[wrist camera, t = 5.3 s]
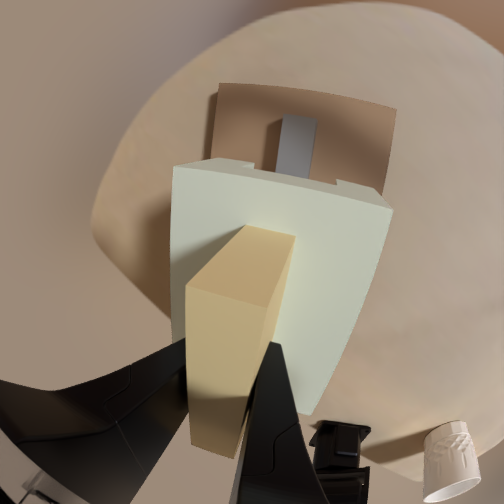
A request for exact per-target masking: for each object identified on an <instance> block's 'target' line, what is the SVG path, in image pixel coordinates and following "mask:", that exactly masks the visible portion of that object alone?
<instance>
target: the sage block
mask: <svg viewBox="0 0 504 504" xmlns="http://www.w3.org/2000/svg"><path fill="white" fill-rule="evenodd" d="M254 164H255V163H252V162H246V161H239V160H233V159H225V158H214V159H208V160H203V161H197V162H192V163H187V164H182V165H177V166H174V168H173V183H172V201H171V228H170V298H171V324H172V343H175V342H177V341H179V340H181V339H183V338H185V337H186V370H187V392H188V408H189V422H190V435H191V444H192V445H194V446H196V447H199V448H202V449H204V450H207V451H210V452H213V453H216V454H219V455H222V456H225V457H228V458H231V459H234V456H235V454H236V452H237V449H238V446H239V444H240V441H241V438H242V436H243V434H244V431H245V427H246V422H247V417H248V412H249V407H250V403H251V399H252V395H253V391H254V387H255V382H256V378H257V374H258V370H259V368H260V365H261V363H262V360H263V357H264V355H265V352H266V350H267V347H268V345H269V342H270V341H272V342H276V343H280V344H281V346H282V350H283V354H284V358H285V362H286V367H287V371H288V375H289V379H290V384H291V388H292V392H293V397H294V401H295V405H296V410H297V413H301V414H305V415H310V416H311V414H312V412H313V410H314V409H315V407H316V405H317V403H318V401H319V399H320V398H321V396H322V394H323V392H324V390H325V388H326V386H327V384H328V382H329V380H330V378H331V376H332V374H333V372H334V370H335V368H336V366H337V364H338V361H339V359H340V357H341V355H342V353H343V351H344V348H345V346H346V344H347V342H348V339H349V337H350V335H351V332H352V330H353V328H354V325H355V323H356V321H357V318H358V316H359V313H360V311H361V308H362V306H363V303H364V300H365V298H366V295H367V292H368V290H369V287H370V284H371V281H372V279H373V276H374V273H375V270H376V267H377V264H378V261H379V258H380V255H381V252H382V248H383V245H384V242H385V239H386V235H387V232H388V228H389V225H390V221H391V218H392V214H393V209H392V207H391V206H390V205H389V204H388V203H387V202H386V201H385V200H384V199H383V197H382V196H381V195H380V194H379V193H378V192H377V191H376V190H375V189H374V188H371V187H367V186H363V185H359V184H355V183H351V182H347V181H343V180H339V179H336V182H335V185H332V184H328V183H324V182H319V181H315V180H310V179H305V178H300V177H295V176H290V175H285V174H280V173H274V172H269V171H263V170H257V169H254Z"/></svg>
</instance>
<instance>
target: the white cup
mask: <svg viewBox="0 0 504 504" xmlns="http://www.w3.org/2000/svg"><path fill="white" fill-rule="evenodd" d="M480 481H481V475H480V471H479V465H478V461H477V456H476V453H475V449H474V445H473V443H472V438H471V437H470V434H469V431H468V427H467V425H466V423H465V422H463V421H453V422H449V423H446V424H444V425H441V426H439V427H438V428H436V429H434V430H433V431H431V432H430V433H429V434H428V435H427V436H426V437H425V440H424V488H423V502H426V503H432V502H438V501H443V500H446V499H450V498H452V497H455V496H458V495H459V494H462V493H464V492H466V491H468V490H469V489H471V488H473V487H474V486H475V485H477V484H478V483H479V482H480Z"/></svg>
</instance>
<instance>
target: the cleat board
mask: <svg viewBox="0 0 504 504" xmlns="http://www.w3.org/2000/svg"><path fill="white" fill-rule="evenodd" d="M396 110H397V109H393V108H390V107H386V106H383V105H379V104H375V103H371V102H367V101H363V100H358V99H354V98H349V97H344V96H339V95H334V94H329V93H323V92H317V91H311V90H304V89H296V88H288V87H279V86H268V85H255V84H236V83H219V89H218V96H217V104H216V112H215V121H214V129H213V139H212V148H211V158H210V159H214V158H225V159H233V160H239V161H246V162H252V163H255V164H254V169H257V170H263V171H269V172H274V173H280V174H285V175H290V176H295V177H300V178H305V179H310V180H315V181H319V182H324V183H328V184H332V185H335V182H336V179H339V180H343V181H347V182H351V183H355V184H359V185H363V186H367V187H371V188H374V189H375V190H376V191H377V192H378V193H379V194H380V195H381V196H382V192H383V187H384V183H385V178H386V173H387V167H388V162H389V157H390V151H391V145H392V139H393V132H394V125H395V118H396Z"/></svg>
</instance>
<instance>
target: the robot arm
mask: <svg viewBox="0 0 504 504" xmlns="http://www.w3.org/2000/svg"><path fill="white" fill-rule="evenodd" d="M188 412H189V408H188V392H187V370H186V337H185V338H183V339H181V340H179V341H177V342H175V343H173V344H171V345H169V346H167V347H165V348H163V349H161V350H159V351H157V352H155V353H153V354H151V355H149V356H147V357H145V358H143V359H140V360H138V361H136V362H134V363H132V364H131V365H128V366H126V367H124V368H122V369H119V370H117V371H115V372H112V373H110V374H107V375H105V376H102V377H99V378H97V379H94V380H90V381H87V382H84V383H81V384H78V385H75V386H71V387H68V388H65V389H61V390H55V391H46V390H40V389H35V388H30V387H26V386H22V385H18V384H14V383H11V382H7V381H3V380H0V504H130V502H131V501H132V500H133V498H134V496H135V495H136V494H137V492H138V490H139V489H140V487H141V486H142V484H143V483H144V481H145V480H146V478H147V476H148V475H149V474H150V472H151V470H152V469H153V467H154V466H155V464H156V463H157V461H158V460H159V458H160V457H161V455H162V453H163V452H164V450H165V449H166V447H167V446H168V444H169V442H170V441H171V439H172V438H173V436H174V435H175V433H176V431H177V429H178V428H179V426H180V425H181V423H182V422H183V420H184V419H185V417H186V415H187V414H188ZM370 432H371V428H370V427H366V426H357V425H349V424H342V423H336V422H329V421H323V422H322V423H321V425H320V426H319V428H318V429H317V431H316V433H315V434H314V436H313V437H312V439H311V440H310V442H309V446H313V447H315V452H314V458H313V464H312V462H311V460H310V457H309V454H308V452H307V449H306V446H305V442H304V438H303V435H302V431H301V426H300V424H299V418H298V414H297V410H296V405H295V401H294V397H293V392H292V388H291V384H290V379H289V375H288V371H287V367H286V362H285V358H284V354H283V350H282V346H281V344H280V343H276V342H272V341H270V342H269V345H268V347H267V350H266V352H265V355H264V357H263V360H262V363H261V365H260V368H259V370H258V374H257V378H256V382H255V387H254V391H253V395H252V399H251V403H250V407H249V412H248V417H247V422H246V427H245V432H244V437H243V441H242V446H241V451H240V456H239V460H238V465H237V470H236V474H235V479H234V483H233V488H232V492H231V496H230V501H229V504H367V500H368V488H369V474H370V467H369V466H368V467H364V468H359V461H360V446H361V442H362V441H363V440H364V439H365V438H366V437H367V435H368V434H369V433H370ZM362 484H364V485H362Z"/></svg>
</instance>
